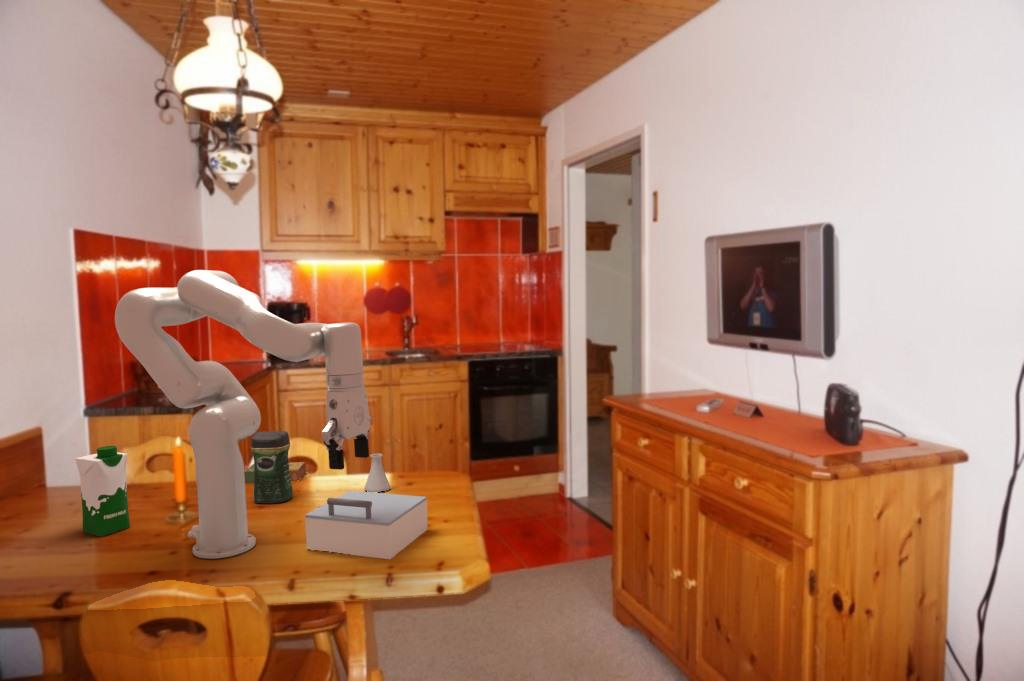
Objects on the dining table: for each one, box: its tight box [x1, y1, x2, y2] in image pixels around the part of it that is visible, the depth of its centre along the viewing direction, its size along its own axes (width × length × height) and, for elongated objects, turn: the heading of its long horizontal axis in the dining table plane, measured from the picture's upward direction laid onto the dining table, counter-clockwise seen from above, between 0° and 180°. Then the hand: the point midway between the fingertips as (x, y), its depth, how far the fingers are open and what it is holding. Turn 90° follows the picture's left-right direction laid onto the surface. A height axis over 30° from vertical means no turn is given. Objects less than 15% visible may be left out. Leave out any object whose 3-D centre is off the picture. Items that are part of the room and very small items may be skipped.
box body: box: [304, 499, 428, 560], centre depth 150 cm, size 20×18×7 cm
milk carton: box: [75, 445, 131, 538], centre depth 159 cm, size 9×9×20 cm
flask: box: [363, 453, 392, 493], centre depth 187 cm, size 7×7×10 cm
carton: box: [244, 461, 307, 484], centre depth 201 cm, size 8×16×4 cm, turn 93°
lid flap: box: [304, 490, 428, 526], centre depth 149 cm, size 20×18×4 cm
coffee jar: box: [250, 430, 294, 504], centre depth 180 cm, size 10×8×19 cm
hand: (349, 462), depth 141 cm, fingers open, 9 cm apart
